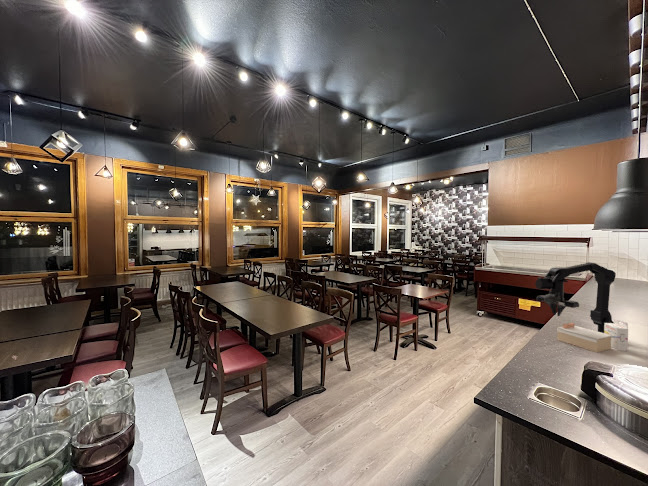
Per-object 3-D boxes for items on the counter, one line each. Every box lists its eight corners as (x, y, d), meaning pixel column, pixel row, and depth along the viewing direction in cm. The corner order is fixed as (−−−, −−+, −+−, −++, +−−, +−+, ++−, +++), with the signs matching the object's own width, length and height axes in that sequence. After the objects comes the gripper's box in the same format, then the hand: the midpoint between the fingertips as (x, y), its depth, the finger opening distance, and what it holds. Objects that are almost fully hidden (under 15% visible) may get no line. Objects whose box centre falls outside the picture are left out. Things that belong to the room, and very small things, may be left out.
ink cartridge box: (602, 343, 145) (603, 317, 145) (613, 344, 144) (614, 317, 144) (616, 350, 137) (617, 322, 136) (628, 351, 136) (629, 322, 135)
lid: (571, 328, 155) (572, 321, 155) (611, 339, 139) (612, 331, 139) (556, 331, 151) (556, 324, 151) (596, 342, 134) (596, 334, 134)
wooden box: (570, 336, 155) (571, 326, 155) (610, 348, 139) (611, 337, 139) (557, 339, 151) (557, 329, 151) (596, 352, 135) (597, 340, 135)
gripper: (530, 287, 162) (530, 312, 163) (567, 293, 145) (566, 322, 145) (542, 286, 166) (542, 310, 166) (580, 292, 148) (579, 319, 149)
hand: (556, 315), depth 157 cm, fingers closed
